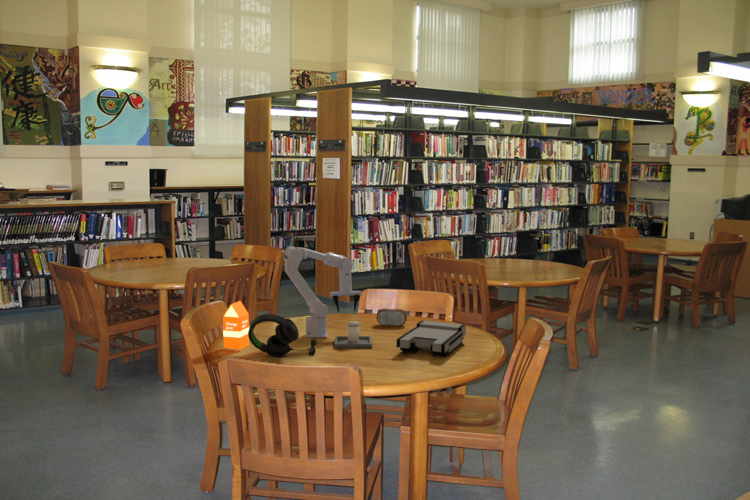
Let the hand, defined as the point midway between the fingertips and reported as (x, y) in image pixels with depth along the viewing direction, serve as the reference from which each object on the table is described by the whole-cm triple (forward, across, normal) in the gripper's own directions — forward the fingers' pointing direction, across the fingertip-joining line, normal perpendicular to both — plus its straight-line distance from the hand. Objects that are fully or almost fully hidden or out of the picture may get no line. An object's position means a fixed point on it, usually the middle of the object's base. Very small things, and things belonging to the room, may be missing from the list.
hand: (346, 311), depth 312 cm
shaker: (+10, +3, -20) cm, 23 cm away
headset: (+9, -26, -38) cm, 47 cm away
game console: (+12, +36, -28) cm, 48 cm away
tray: (+10, +3, -21) cm, 23 cm away
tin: (+12, +22, +14) cm, 29 cm away
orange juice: (+8, -47, -27) cm, 55 cm away
